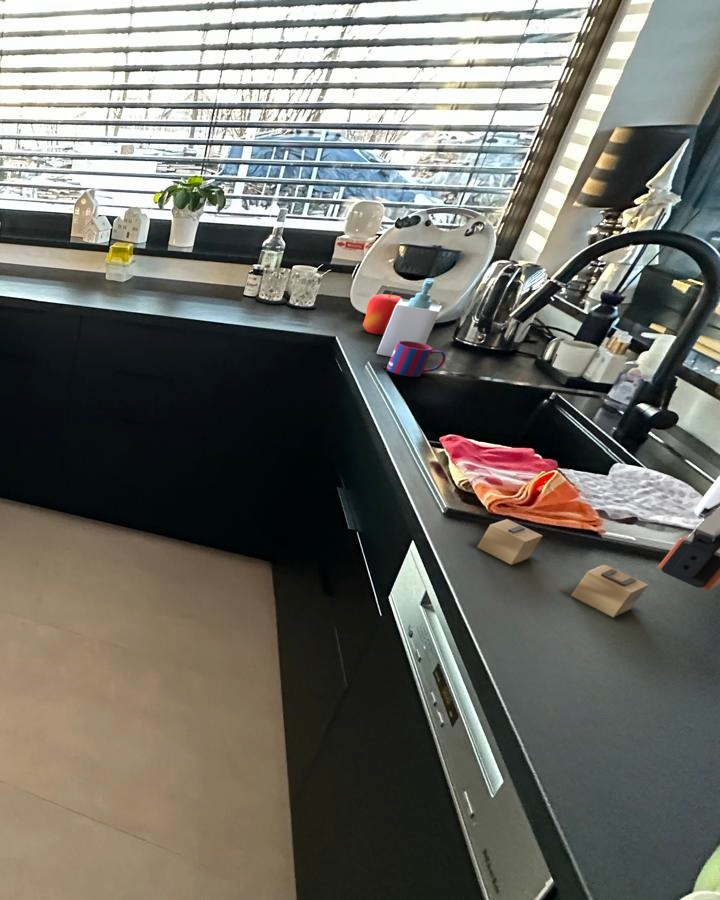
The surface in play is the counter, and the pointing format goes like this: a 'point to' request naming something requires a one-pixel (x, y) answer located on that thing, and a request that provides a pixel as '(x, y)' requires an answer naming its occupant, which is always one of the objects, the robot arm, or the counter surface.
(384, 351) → the soap bottle
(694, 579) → the robot arm
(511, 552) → the block
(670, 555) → the block
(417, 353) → the mug
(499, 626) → the counter surface
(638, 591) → the block
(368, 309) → the apple
